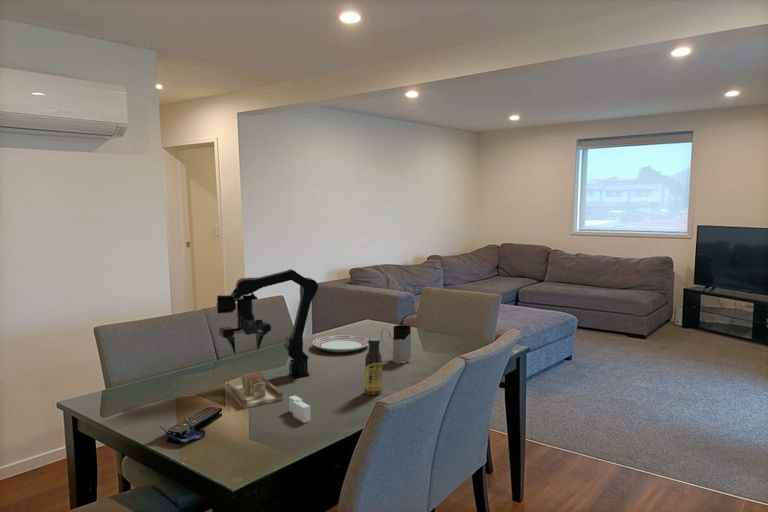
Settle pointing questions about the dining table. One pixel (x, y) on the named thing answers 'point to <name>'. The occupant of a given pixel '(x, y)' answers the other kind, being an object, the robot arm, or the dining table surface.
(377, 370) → the sauce bottle
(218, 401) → the dining table surface
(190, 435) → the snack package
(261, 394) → the dish rack
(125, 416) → the dining table surface
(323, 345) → the dinner plate
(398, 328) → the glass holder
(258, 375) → the pink clay brick
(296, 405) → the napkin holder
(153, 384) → the dining table surface
